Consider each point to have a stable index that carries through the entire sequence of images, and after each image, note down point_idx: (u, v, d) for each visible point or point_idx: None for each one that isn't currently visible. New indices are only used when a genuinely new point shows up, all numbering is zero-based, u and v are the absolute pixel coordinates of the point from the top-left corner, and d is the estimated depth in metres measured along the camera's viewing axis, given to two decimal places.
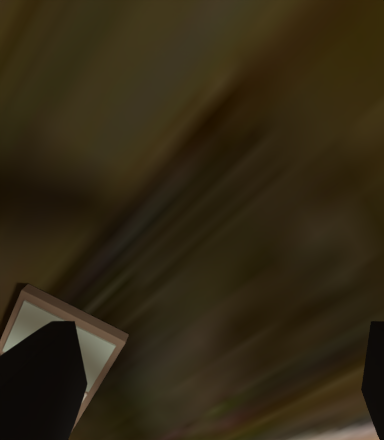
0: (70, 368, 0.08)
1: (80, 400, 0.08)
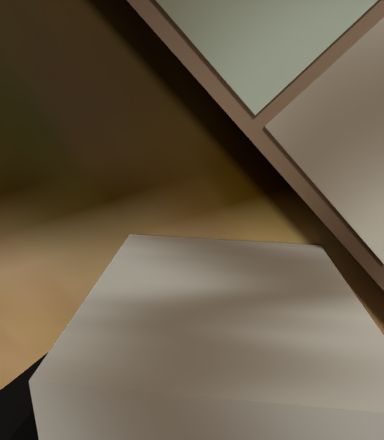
0: None
1: None
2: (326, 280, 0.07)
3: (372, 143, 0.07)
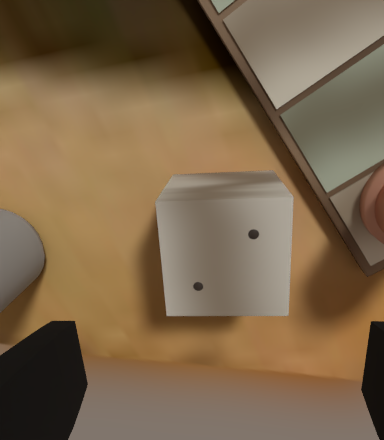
0: (70, 368, 0.08)
1: (80, 400, 0.08)
2: (270, 178, 0.15)
3: (274, 37, 0.14)
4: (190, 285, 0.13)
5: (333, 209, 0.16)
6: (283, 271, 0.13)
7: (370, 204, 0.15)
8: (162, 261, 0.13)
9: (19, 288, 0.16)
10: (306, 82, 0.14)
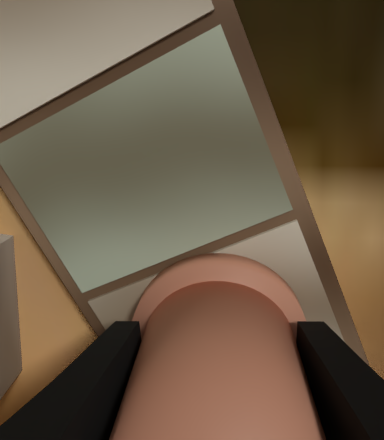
0: None
1: None
2: None
3: None
4: None
5: (96, 319, 0.10)
6: None
7: None
8: None
9: None
10: (32, 97, 0.08)
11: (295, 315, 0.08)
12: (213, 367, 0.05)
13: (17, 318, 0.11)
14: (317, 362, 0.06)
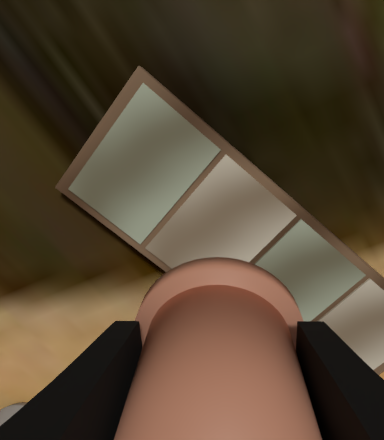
0: None
1: None
2: None
3: (190, 251, 0.16)
4: None
5: None
6: None
7: None
8: None
9: None
10: None
11: (291, 314, 0.08)
12: (206, 371, 0.06)
13: None
14: (318, 362, 0.06)
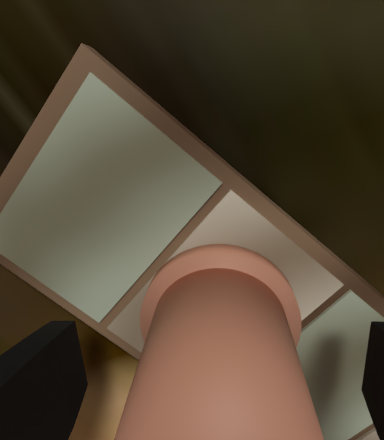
0: (70, 368, 0.08)
1: (80, 400, 0.08)
2: None
3: None
4: None
5: None
6: None
7: (146, 318, 0.10)
8: None
9: None
10: None
11: (285, 295, 0.09)
12: (209, 336, 0.06)
13: None
14: None
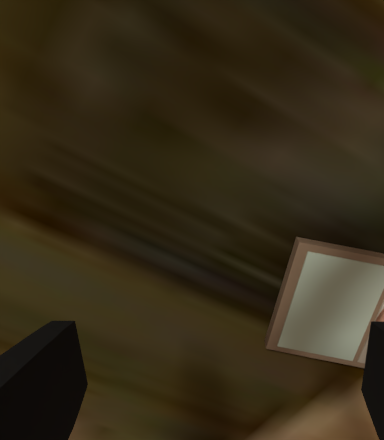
0: (70, 368, 0.08)
1: (80, 400, 0.08)
2: None
3: None
4: None
5: None
6: None
7: None
8: None
9: None
10: None
11: None
12: None
13: None
14: None
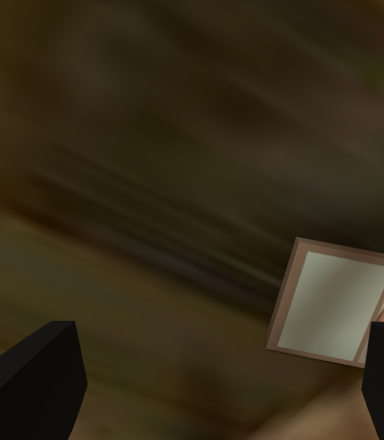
0: (70, 368, 0.08)
1: (80, 400, 0.08)
2: None
3: None
4: None
5: None
6: None
7: None
8: None
9: None
10: None
11: None
12: None
13: None
14: None
